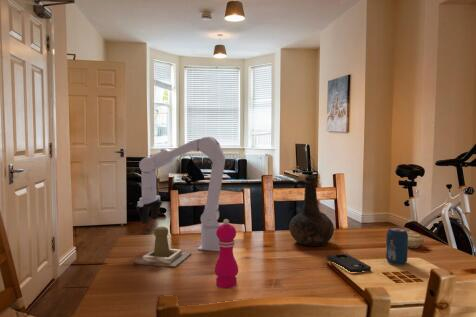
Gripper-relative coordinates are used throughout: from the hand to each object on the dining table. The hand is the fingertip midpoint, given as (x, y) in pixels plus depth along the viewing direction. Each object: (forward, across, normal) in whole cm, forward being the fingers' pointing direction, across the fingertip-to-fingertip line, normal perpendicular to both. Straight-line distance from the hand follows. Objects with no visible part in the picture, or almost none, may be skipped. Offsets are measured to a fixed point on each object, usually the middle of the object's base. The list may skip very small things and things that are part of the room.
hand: (149, 221), depth 150 cm
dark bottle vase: (+11, -22, +62) cm, 67 cm away
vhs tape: (+11, 0, +77) cm, 78 cm away
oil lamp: (+11, -31, +101) cm, 106 cm away
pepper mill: (+11, +27, +41) cm, 50 cm away
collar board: (+10, +12, +12) cm, 20 cm away
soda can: (+11, -7, +93) cm, 94 cm away
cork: (+10, +12, +11) cm, 19 cm away
